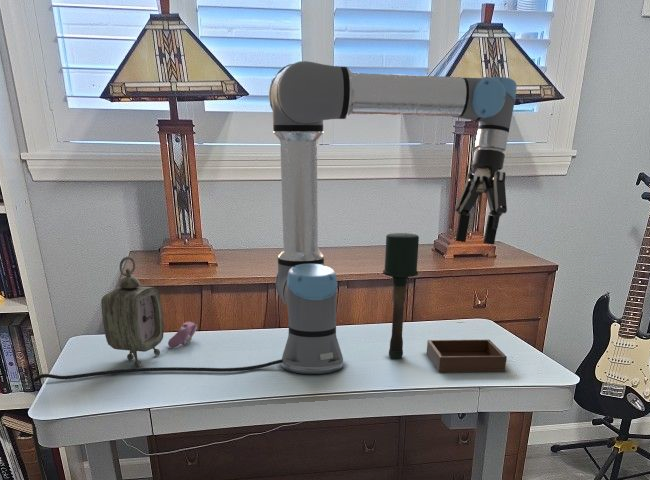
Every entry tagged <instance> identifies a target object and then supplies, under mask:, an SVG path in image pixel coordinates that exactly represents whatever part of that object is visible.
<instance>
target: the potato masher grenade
mask: <svg viewBox="0 0 650 480" xmlns="http://www.w3.org/2000/svg"><path fill="white" fill-rule="evenodd" d="M419 241H420V237H419V235H418V234H416V233H409V232H393V233H388V234H386V236H385V253H384V270H382V274H383V275H385V276H388V277H391V278H392V280H393V281H392V303H393V305H392V320H391V321H392V322H391V336H390V341H389V349H388V356H389V358H390V359H392V360H400V359H402V358H403V356H404V339H403V329H404V311H405V310H404V309H405V301H406V294H407V282H408V279H409V278H410V277H411V278H412V277H416V276H418V275H419V271H418V259H419V257H418V256H419Z"/></svg>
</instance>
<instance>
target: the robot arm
mask: <svg viewBox="0 0 650 480" xmlns="http://www.w3.org/2000/svg"><path fill="white" fill-rule="evenodd" d="M517 87H518V86H517V81H515V80H514V79H512V78H510V77H504V76H492V77H491V76H484V77H462V76H439V75H437V76H436V75H416V74H415V75H414V74H394V73H393V74H391V73H370V72H369V73H368V72H366V73H365V72H352V71H351V69H350V68H349V67H348V66H339V65H338V66H337V65H330V64H323V63H318V62H314V61H307V60H302V61H301V60H300V61H297V62H294V63H289V64H287V65H285V66H283V67H281V68H279V70H278V71H277V72H276V73H275V75H274V76H273V78H272V80H271V83H270V85H269V88H268V89H269V90H268V101H269V105H270V108H271V111H272V126H273V127H272V131H273V134H274V135H275V136H276V138H277V139H278V140H279V144H280V145H279V149H280V173H281V174H280V175H281V176H280V179H281V180H280V181H281V209H282V211H281V214H282V243H283V245H282V247H283V249H282V250H281V251H280V253H279V254H278V255H277V273H276V277H275V289H276V292H277V295H278V297H279V298H280V300H281V301H282V302H283V303H284V304H285V306H286V307H287V314H288V315H287V317H288V319H287V320H288V336H287V339H286V343H285V346H284V350H283V353H282V356H281V359H277V360H273V361H272V360H271V361H270V362H266V363H262V364H256V365H249V366H248V365H247V366H239V367H188V366H187V367H185V366H183V367H181V366H180V367H179V366H172V367H171V366H169V367H168V366H165V367H160V366H159V367H158V366H157V367H135V368H123V369H112V370H111V369H110V370H102V371H101V370H100V371H93V372H86V373H78V374H70V375H57V374H52V373H42V374H38V375H36V376H35V377H34V378H33V380H32V381H31V383H37V382H38V381H39V380H41V379H43V378H47V379H55V380H74V379H83V378H88V377H89V378H90V377H96V376H106V375H114V374H125V373H127V374H128V373H140V372H143V373H144V372H216V373H217V372H219V373H220V372H221V373H223V372H225V373H226V372H242V371H243V372H244V371H253V370H258V369H263V368H267V367H271V366H275V365H278V364H281V367H282V368H283V369H285V370H286V371H289V372H292V373H295V374H303V375H324V374H331V373H334V372H337V371H340V370H341V369H342V368H343V366H344V357H343V354H342V350H341V347H340V343H339V340H338V336H337V295H338V294H337V293H338V285H339V284H338V280H337V279H338V277H337V273H336V271H335V270H334V269H333V268H332V267H330V266H327V265H325V256H324V254H323V253H322V252H321V251H320V249H319V238H318V237H319V236H318V235H319V234H318V231H319V227H318V226H319V225H318V224H319V223H318V218H319V217H318V141H319V139H320V138H321V136H322V135H323V134H324V121H328V120H346V119H348V118H349V116H350V115H375V116H376V115H379V116H380V115H381V116H417V117H418V116H419V117H420V116H423V117H446V118H447V117H453V118H458V119H465V120H471V121H474V122H478V127H477V134H476V140H475V145H474V147H475V149H476V150H475V151H474V152H473V159H472V167H473V168H474V169H475V171H474V173H473V172H468V173H467V175H466V178H465V182H464V185H463V188H462V191H461V193H460V195H459V198H458V201H457V204H456V205H455V207H454V211H455V212H456V213H458V222H457V226H456V227H457V228H456V234H455V242H461V243H466V241H467V235H468V230H469V224H470V219H471V213H470V212H471V210H472V208H473V207H474V206H475V203H476V202H477V200H478V198H479V197H480V196H481V195H482V194H484V193H485V195H486V200H487V204H488V208H489V212H488V215H487V221H486V226H485V232H484V238H483V241H482V242H483V244H487V245H495V243H496V242H495V241H496V237H497V231H498V228H499V223H500V217H501V216H502V215H503V214H507V212H508V206H507V195H506V174H507V173H506V172H505V171H502V170H503V168H504V162H505V159H506V158H505V157H506V154H505V153H504V152H505V151H506V150H507V145H508V139H509V133H510V127H511V124H512V117H513V113H514V108H515V104H516V97H517ZM34 421H35V420H34ZM34 421H33V420H32V421H31V428H32V436H33V442H34V443H33V444H34V448H35V453H36V454H35V455H36V458H37V462H38V467H39V471H40V475H41V480H47V477H46V473H45V468H44V465H43V460H42V455H41V451H40V445H39V438H38V433H37V432H38V431H37V426H36V427H35V424H34Z"/></svg>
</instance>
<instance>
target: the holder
mask: <svg viewBox="0 0 650 480" xmlns="http://www.w3.org/2000/svg"><path fill="white" fill-rule="evenodd" d="M426 356H427V357H428V358H429V360H430V362H431V363H432V365H433V366H434V367H435V369H436V371H437V372H438V373H498V372H499V373H501V372H503V373H505V372H506V366H507V355H506V354H505V353H504V352H503V351H502V350H501V349H500V348H499V347H498V346H497V345H496V344H494V342H492V340H491V339H427V344H426Z"/></svg>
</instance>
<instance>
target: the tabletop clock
mask: <svg viewBox="0 0 650 480" xmlns="http://www.w3.org/2000/svg"><path fill="white" fill-rule="evenodd" d="M128 260H130V261H131V262H132V269H131V270H130V269H129V268H127V269H125V272H124V271H123V265H124V262H126V261H128ZM135 270H136V263H135V260H134V258H133V257H131V256H123V258H122V259H121V260H120V263H119V273H120V274H121V275H122V276H124V277H122V278H121V279H120V280H119V283H118V286H117V287H116V288H114V289H113V290H111V291H110V292H107V293H106V294H104V295H103V296H102V298H101V301H100V302H101V303H100V307H101V309H100V310H101V316H102V324H103V330H104V336H105V341H106V343H107V345H108V346H110V347H111V348H112V349H113V350H119V351H129V353H128V354H127V355H126V358H127V360H129V361H133V360H135V361H134V362H133V365H134V367H135V368H141V366H142V363H141V361H140V360H139V359H138V352H142V353H143V352H144V353H145V352H148V351H151V350H153V354H154V355H155V356H159V355H160V354H161V350H160V348H156V347H157V346H158V345H160V344H161V342H162V341H163V339H164V330H165V329H164V313H163V306H162V299H161V294H160V291H159V288H158V287H155V286H143V285H142V284H141V282H140V280H139V279H138V278H137V277H135V276H132V275H133V274H134V272H135Z"/></svg>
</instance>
